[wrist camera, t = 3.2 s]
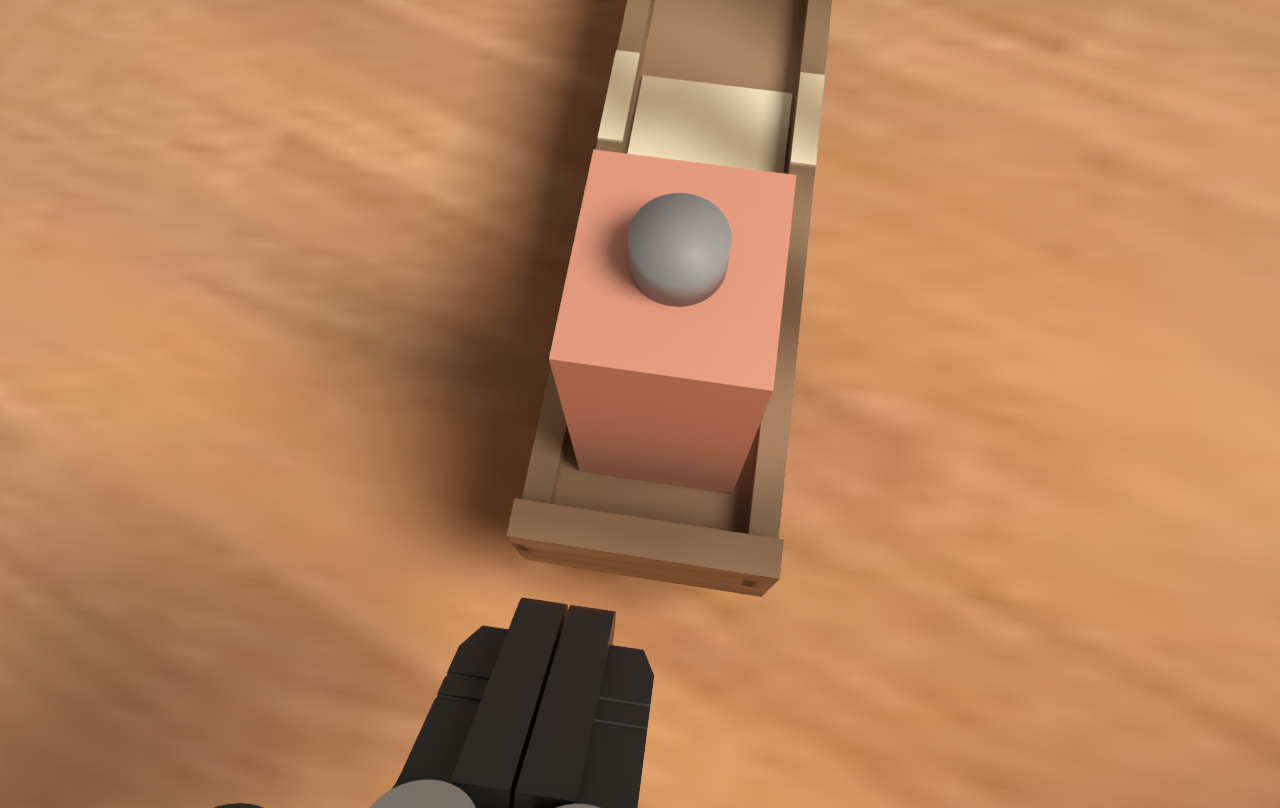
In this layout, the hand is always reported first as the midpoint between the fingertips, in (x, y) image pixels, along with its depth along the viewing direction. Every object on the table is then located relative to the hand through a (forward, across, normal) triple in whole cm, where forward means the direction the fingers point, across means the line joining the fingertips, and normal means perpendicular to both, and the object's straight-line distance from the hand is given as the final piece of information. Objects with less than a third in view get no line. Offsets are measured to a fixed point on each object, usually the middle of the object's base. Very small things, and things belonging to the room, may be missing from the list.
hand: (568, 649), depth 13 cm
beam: (+22, +1, +2) cm, 22 cm away
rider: (+12, +1, -1) cm, 12 cm away
